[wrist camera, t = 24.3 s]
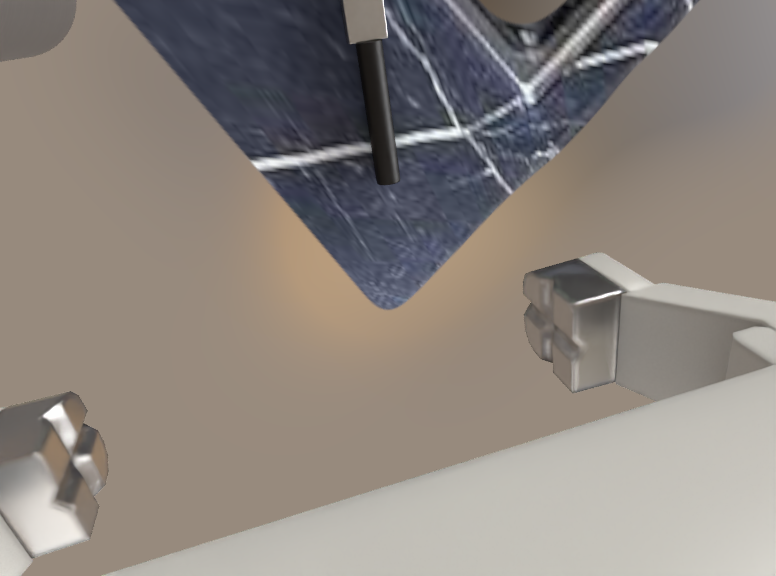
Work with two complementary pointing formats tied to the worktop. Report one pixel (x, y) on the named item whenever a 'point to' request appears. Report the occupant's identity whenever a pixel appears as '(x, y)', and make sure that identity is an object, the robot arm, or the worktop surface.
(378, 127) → the cake knife
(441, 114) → the worktop surface
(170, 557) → the robot arm
